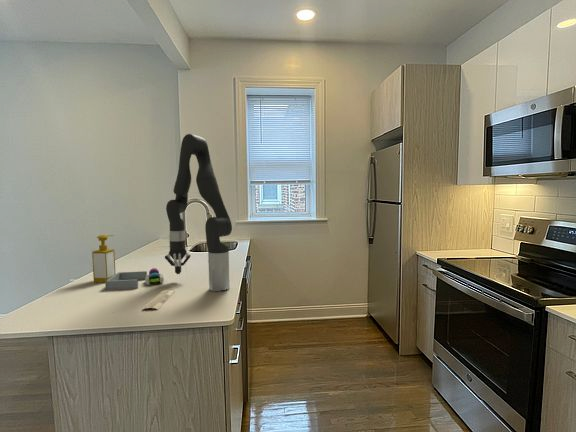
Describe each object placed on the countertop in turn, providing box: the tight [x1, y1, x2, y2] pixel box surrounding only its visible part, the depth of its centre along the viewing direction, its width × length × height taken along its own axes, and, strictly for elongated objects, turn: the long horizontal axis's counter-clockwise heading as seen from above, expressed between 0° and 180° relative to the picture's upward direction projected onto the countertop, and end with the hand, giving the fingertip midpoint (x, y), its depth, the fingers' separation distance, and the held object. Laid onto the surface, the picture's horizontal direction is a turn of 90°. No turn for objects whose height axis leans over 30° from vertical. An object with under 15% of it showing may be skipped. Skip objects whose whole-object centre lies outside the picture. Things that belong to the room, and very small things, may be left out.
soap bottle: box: [91, 234, 117, 284], centre depth 179 cm, size 7×13×24 cm, turn 174°
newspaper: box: [141, 289, 175, 311], centre depth 144 cm, size 24×7×2 cm, turn 3°
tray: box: [104, 270, 148, 291], centre depth 170 cm, size 18×14×4 cm
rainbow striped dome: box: [144, 267, 165, 286], centre depth 172 cm, size 8×10×7 cm
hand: (178, 273), depth 174 cm, fingers closed
